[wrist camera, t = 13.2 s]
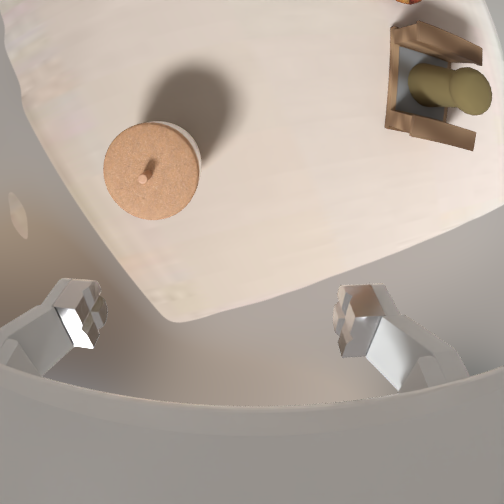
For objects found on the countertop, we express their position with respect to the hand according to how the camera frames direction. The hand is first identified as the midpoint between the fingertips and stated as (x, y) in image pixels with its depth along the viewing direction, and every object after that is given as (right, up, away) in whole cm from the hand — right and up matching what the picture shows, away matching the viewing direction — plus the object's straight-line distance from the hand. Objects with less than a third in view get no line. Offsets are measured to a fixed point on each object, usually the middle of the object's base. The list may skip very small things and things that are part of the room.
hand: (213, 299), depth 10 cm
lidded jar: (-9, +14, +26) cm, 31 cm away
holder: (+23, +23, +20) cm, 38 cm away
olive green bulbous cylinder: (+23, +23, +19) cm, 38 cm away
